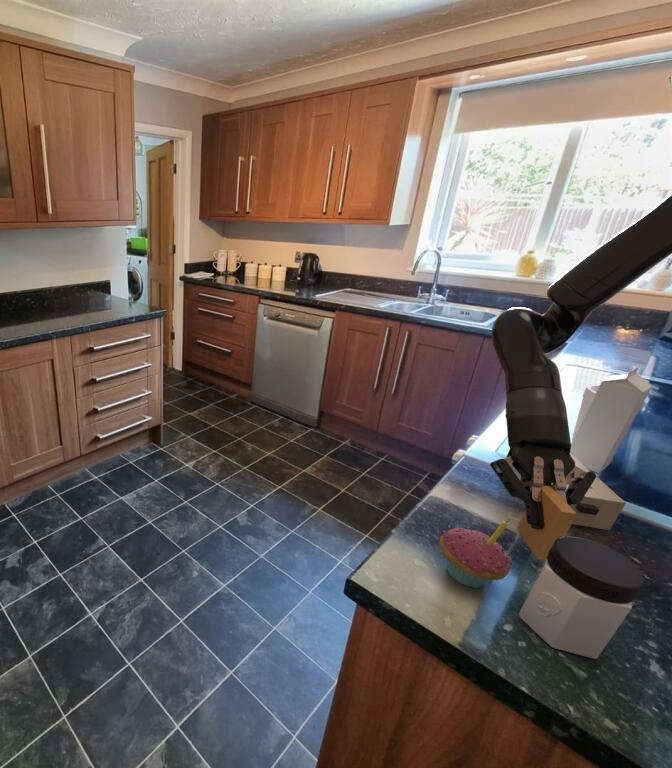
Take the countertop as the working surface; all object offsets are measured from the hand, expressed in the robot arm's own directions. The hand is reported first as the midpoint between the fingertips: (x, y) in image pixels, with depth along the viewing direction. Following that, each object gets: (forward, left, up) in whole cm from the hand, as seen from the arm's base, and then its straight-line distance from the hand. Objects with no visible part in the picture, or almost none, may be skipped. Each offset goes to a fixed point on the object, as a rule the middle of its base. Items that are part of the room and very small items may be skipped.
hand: (547, 529), depth 63 cm
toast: (0, -1, -4) cm, 4 cm away
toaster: (-12, -20, -7) cm, 24 cm away
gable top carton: (-32, -46, -7) cm, 56 cm away
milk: (-26, -36, -7) cm, 45 cm away
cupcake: (+11, +6, -7) cm, 14 cm away
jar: (+2, +12, -7) cm, 14 cm away
